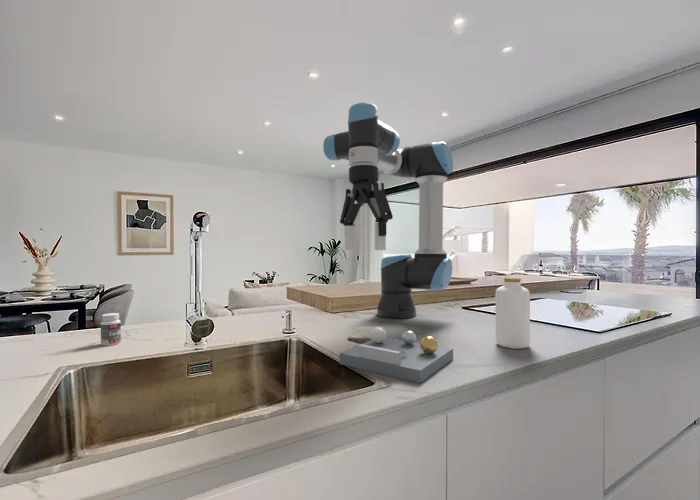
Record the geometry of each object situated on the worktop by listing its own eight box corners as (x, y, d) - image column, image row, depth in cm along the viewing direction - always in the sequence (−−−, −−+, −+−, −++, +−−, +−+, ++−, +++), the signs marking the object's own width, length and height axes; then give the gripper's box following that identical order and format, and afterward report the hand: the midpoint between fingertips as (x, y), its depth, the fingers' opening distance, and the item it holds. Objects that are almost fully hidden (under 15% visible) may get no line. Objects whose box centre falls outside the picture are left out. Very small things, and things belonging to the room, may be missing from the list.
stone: (383, 348, 96) (383, 338, 96) (344, 346, 98) (344, 336, 97) (387, 333, 110) (387, 325, 110) (353, 332, 112) (353, 324, 112)
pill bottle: (111, 346, 98) (110, 316, 98) (96, 345, 99) (96, 315, 99) (125, 341, 102) (124, 312, 102) (111, 341, 103) (110, 312, 103)
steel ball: (405, 342, 90) (405, 328, 90) (418, 344, 88) (418, 330, 88) (399, 345, 87) (399, 331, 87) (412, 347, 85) (412, 333, 85)
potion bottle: (522, 341, 99) (522, 276, 98) (535, 350, 90) (535, 279, 90) (491, 341, 99) (491, 276, 99) (501, 349, 91) (501, 279, 91)
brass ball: (424, 350, 83) (424, 333, 83) (440, 353, 81) (440, 335, 81) (417, 354, 80) (416, 336, 80) (433, 357, 77) (433, 339, 77)
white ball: (375, 340, 92) (375, 324, 92) (389, 342, 90) (389, 326, 90) (367, 343, 89) (367, 327, 89) (381, 346, 86) (380, 329, 86)
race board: (380, 345, 96) (380, 327, 96) (453, 359, 84) (452, 338, 84) (339, 363, 81) (339, 342, 81) (420, 383, 70) (420, 357, 69)
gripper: (327, 174, 99) (328, 249, 100) (381, 154, 78) (382, 250, 78) (350, 176, 103) (350, 249, 104) (407, 158, 82) (407, 249, 82)
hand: (364, 250), depth 91 cm, fingers open, 13 cm apart
